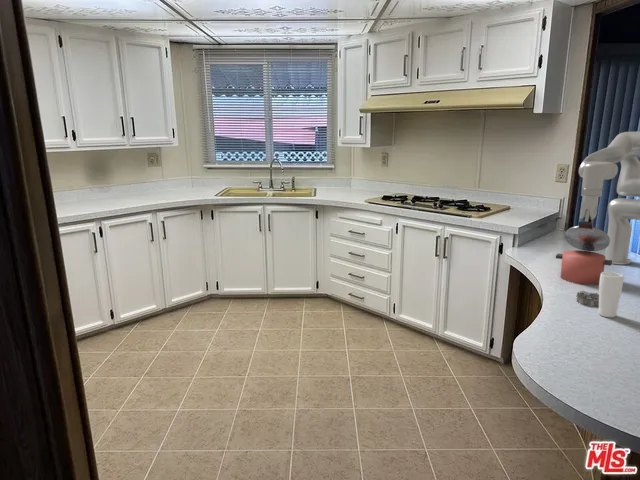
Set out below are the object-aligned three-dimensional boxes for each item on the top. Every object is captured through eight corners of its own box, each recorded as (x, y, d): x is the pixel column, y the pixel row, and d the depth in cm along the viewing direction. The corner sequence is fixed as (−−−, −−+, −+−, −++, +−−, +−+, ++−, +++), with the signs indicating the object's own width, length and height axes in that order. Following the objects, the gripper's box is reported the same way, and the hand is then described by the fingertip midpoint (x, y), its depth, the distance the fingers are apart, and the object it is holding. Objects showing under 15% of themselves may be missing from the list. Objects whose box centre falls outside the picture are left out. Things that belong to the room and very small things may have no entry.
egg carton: (574, 304, 164) (575, 293, 163) (576, 298, 170) (577, 288, 169) (608, 309, 158) (609, 298, 157) (609, 303, 164) (610, 292, 163)
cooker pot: (560, 269, 205) (562, 247, 203) (612, 277, 192) (615, 253, 190) (550, 279, 192) (552, 255, 190) (605, 288, 179) (609, 262, 176)
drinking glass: (622, 319, 148) (627, 277, 145) (600, 318, 150) (605, 277, 146) (613, 311, 155) (618, 271, 152) (592, 311, 156) (597, 271, 153)
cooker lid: (566, 248, 201) (567, 243, 202) (609, 253, 190) (611, 248, 191) (562, 222, 188) (564, 216, 189) (609, 226, 177) (610, 220, 178)
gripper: (585, 190, 193) (580, 230, 197) (577, 194, 182) (573, 236, 186) (604, 190, 188) (600, 232, 192) (598, 195, 177) (594, 238, 181)
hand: (587, 234), depth 189 cm, fingers closed
